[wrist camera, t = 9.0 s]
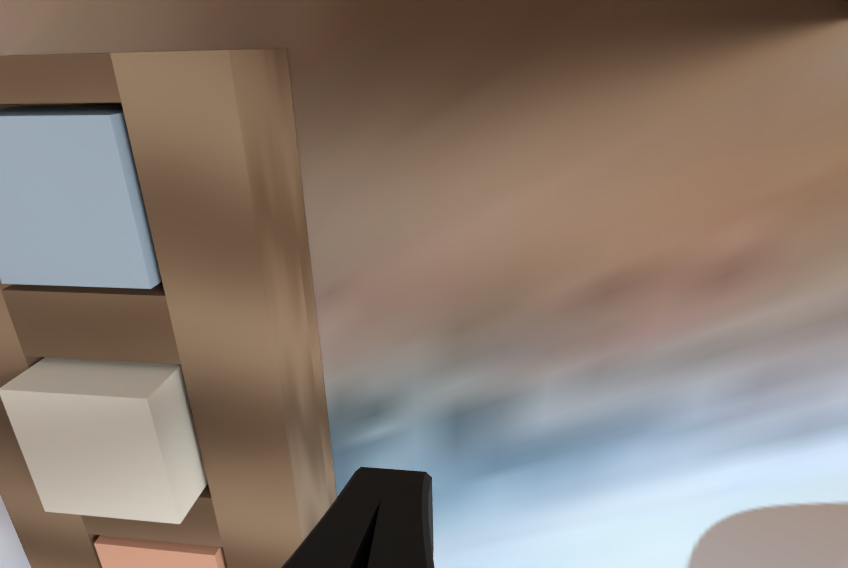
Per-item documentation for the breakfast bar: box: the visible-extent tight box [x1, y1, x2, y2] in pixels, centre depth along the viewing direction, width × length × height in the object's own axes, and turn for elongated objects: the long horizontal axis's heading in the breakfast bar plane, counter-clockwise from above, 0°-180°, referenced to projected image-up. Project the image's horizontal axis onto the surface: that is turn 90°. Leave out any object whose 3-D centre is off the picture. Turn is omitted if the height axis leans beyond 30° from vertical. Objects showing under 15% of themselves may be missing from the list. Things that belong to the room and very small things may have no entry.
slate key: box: [0, 104, 162, 289], centre depth 17 cm, size 5×5×3 cm
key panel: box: [0, 49, 337, 568], centre depth 21 cm, size 24×12×4 cm, turn 1°
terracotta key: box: [94, 535, 227, 568], centre depth 24 cm, size 5×5×3 cm
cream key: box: [0, 357, 208, 524], centre depth 19 cm, size 5×5×3 cm
